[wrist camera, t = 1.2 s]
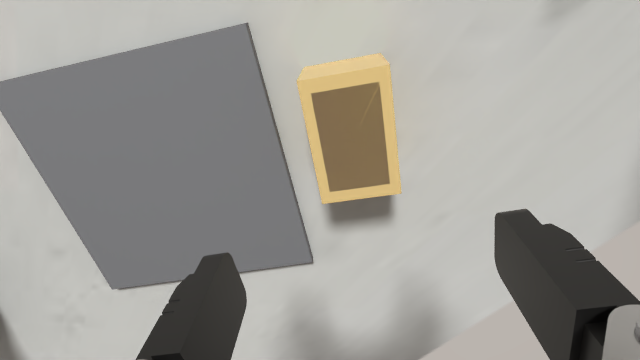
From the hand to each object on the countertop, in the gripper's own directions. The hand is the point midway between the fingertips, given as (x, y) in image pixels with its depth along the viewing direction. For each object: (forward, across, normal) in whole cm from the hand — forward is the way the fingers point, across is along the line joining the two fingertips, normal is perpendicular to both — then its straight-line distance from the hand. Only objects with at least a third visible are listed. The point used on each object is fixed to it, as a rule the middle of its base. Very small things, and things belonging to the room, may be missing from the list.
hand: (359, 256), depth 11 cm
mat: (+14, +14, +2) cm, 20 cm away
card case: (+14, 0, 0) cm, 15 cm away
